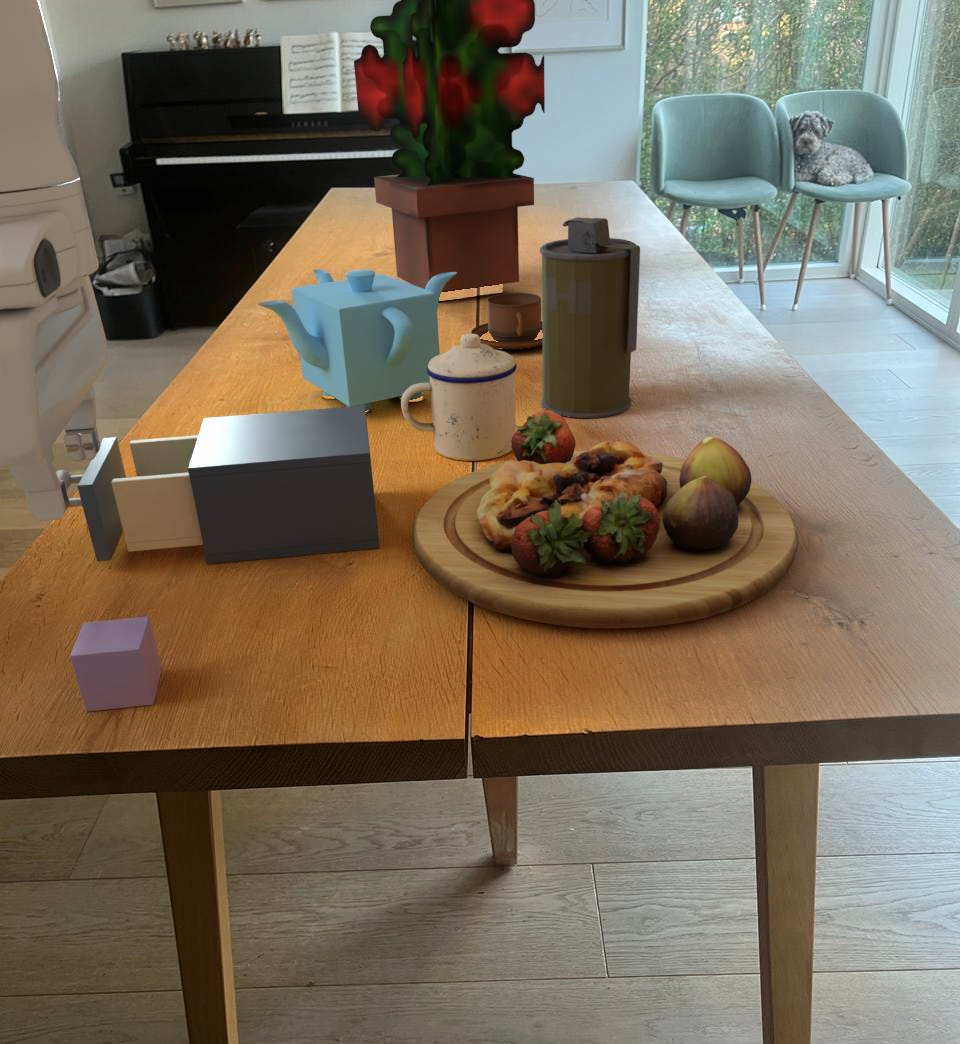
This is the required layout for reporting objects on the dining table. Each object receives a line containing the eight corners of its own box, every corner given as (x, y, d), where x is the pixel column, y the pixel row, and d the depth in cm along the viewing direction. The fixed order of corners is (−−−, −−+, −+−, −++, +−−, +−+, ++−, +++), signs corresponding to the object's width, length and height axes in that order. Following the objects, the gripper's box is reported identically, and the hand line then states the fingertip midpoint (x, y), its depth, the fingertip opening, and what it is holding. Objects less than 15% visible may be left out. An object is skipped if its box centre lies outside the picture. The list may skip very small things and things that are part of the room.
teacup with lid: (507, 428, 112) (504, 320, 106) (527, 457, 104) (525, 342, 98) (399, 440, 110) (390, 331, 104) (411, 470, 102) (402, 354, 97)
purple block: (85, 712, 68) (69, 656, 65) (98, 676, 71) (83, 622, 69) (153, 705, 68) (139, 648, 66) (162, 670, 72) (149, 615, 70)
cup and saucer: (574, 347, 139) (574, 301, 136) (495, 361, 135) (494, 313, 132) (532, 328, 148) (531, 285, 145) (457, 341, 144) (455, 296, 141)
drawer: (42, 566, 85) (20, 490, 81) (71, 512, 95) (52, 442, 91) (259, 546, 86) (247, 471, 83) (266, 495, 96) (255, 425, 93)
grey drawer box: (206, 564, 86) (187, 468, 82) (219, 505, 97) (203, 417, 92) (379, 548, 87) (370, 452, 83) (373, 492, 98) (364, 405, 94)
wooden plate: (410, 482, 100) (404, 400, 96) (731, 461, 101) (739, 379, 97) (417, 652, 72) (408, 547, 68) (857, 621, 74) (875, 516, 69)
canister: (523, 410, 117) (520, 224, 107) (570, 385, 124) (571, 209, 114) (607, 425, 112) (612, 231, 101) (650, 398, 119) (659, 215, 109)
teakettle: (422, 426, 114) (413, 290, 106) (267, 418, 118) (248, 287, 111) (465, 376, 130) (459, 255, 122) (327, 371, 134) (313, 253, 126)
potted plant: (490, 271, 184) (480, -25, 161) (545, 295, 167) (543, -34, 144) (374, 287, 177) (346, -21, 154) (419, 313, 160) (395, -31, 136)
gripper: (-1, 217, 63) (55, 431, 71) (-124, 287, 46) (-33, 561, 53) (103, 211, 64) (148, 424, 71) (20, 277, 47) (91, 550, 54)
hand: (70, 484), depth 62 cm, fingers open, 8 cm apart
